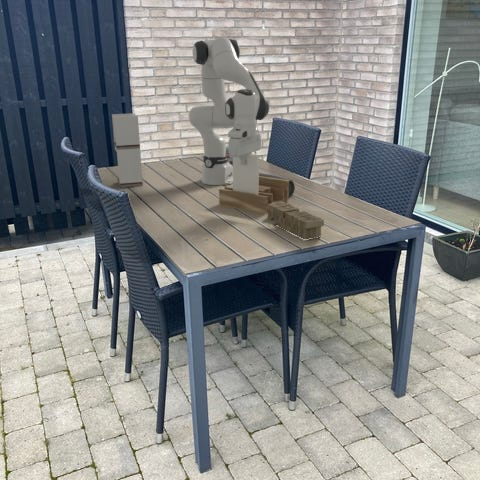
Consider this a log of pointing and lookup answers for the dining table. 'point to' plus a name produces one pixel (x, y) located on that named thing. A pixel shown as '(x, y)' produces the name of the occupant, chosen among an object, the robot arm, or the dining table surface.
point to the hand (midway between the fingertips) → (245, 164)
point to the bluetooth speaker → (291, 183)
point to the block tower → (295, 220)
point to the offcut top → (264, 189)
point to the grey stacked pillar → (127, 149)
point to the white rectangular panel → (246, 174)
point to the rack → (256, 196)
